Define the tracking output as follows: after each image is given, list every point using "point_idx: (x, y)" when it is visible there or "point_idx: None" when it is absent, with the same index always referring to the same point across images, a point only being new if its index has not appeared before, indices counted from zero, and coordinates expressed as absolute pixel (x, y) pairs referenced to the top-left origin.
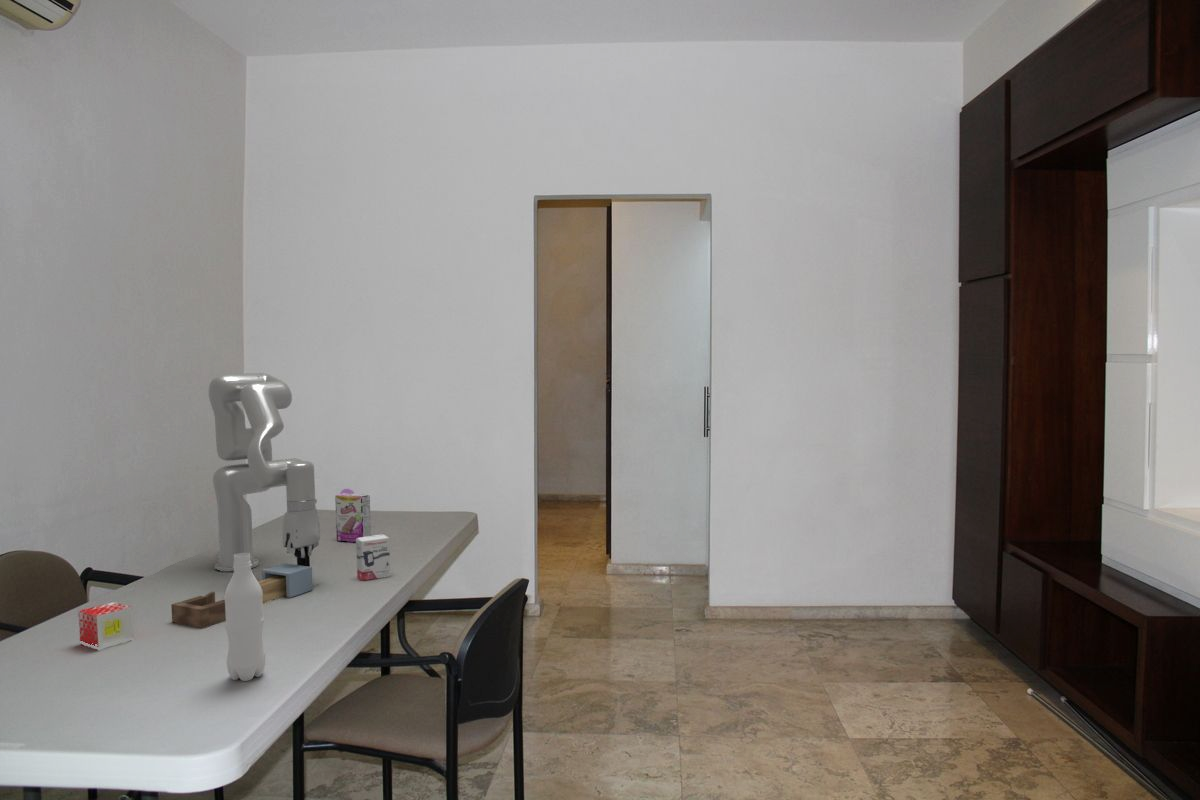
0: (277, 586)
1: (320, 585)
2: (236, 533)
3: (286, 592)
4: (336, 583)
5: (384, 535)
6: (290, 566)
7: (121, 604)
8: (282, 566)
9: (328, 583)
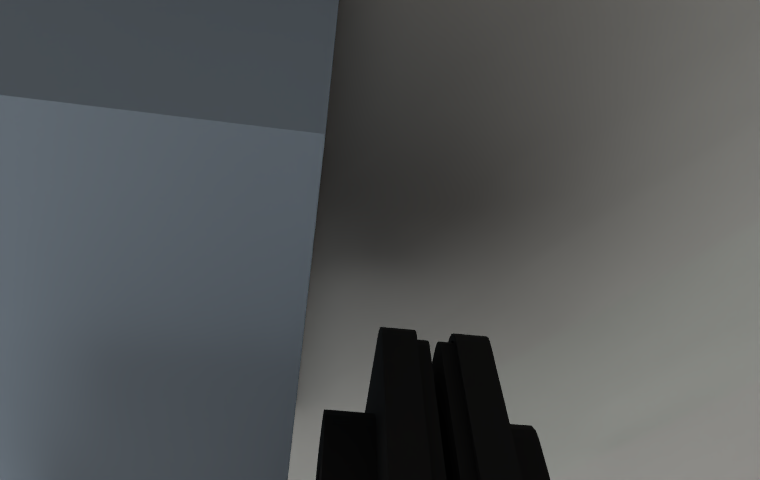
0: None
1: (506, 365)
2: None
3: None
4: (609, 453)
5: None
6: (128, 443)
7: None
8: (35, 297)
9: (599, 391)
